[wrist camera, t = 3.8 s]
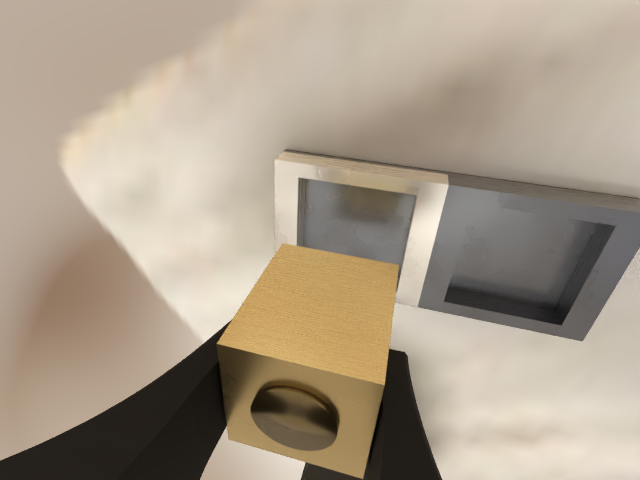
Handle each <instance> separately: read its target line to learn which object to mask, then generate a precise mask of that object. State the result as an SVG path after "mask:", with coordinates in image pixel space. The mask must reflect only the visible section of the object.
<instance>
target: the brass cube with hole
mask: <svg viewBox="0 0 640 480" xmlns="http://www.w3.org/2000/svg"><path fill="white" fill-rule="evenodd" d="M398 270H399V265H397V264H391V263H386V262H381V261H375V260H370V259H365V258H359V257H354V256H349V255H343V254H338V253H333V252H327V251H322V250H317V249H311V248H306V247H301V246H295V245H290V244H285V243H282V245H281V246H280V248H279V249H278V251H277V252H276V254H275V255H274V257H273V258H272V260H271V261H270V263H269V264H268V266H267V268H266V269H265V271H264V272H263V274H262V275H261V277H260V278H259V280H258V281H257V283H256V284H255V286H254V287H253V289H252V290H251V292H250V293H249V295H248V297H247V298H246V300H245V301H244V303H243V304H242V306H241V307H240V309H239V310H238V312H237V313H236V315H235V316H234V318H233V319H232V321H231V322H230V324H229V326H228V327H227V329H226V330H225V332H224V333H223V335H222V336H221V338H220V339H219V341H218V342H217V351H218V359H219V367H220V375H221V383H222V391H223V399H224V407H225V415H226V423H227V430H228V439H229V440H233V441H236V442H240V443H243V444H246V445H250V446H253V447H256V448H260V449H263V450H267V451H270V452H273V453H277V454H280V455H284V456H287V457H290V458H294V459H297V460H300V461H304V462H307V463H310V464H314V465H317V466H321V467H324V468H327V469H331V470H334V471H337V472H341V473H344V474H348V475H351V476H354V477H358V478H361V479H363V476H364V472H365V468H366V463H367V459H368V455H369V450H370V446H371V442H372V437H373V433H374V429H375V425H376V420H377V416H378V412H379V407H380V403H381V399H382V394H383V390H384V386H385V378H386V369H387V361H388V353H389V344H390V336H391V328H392V319H393V311H394V303H395V295H396V286H397V278H398Z"/></svg>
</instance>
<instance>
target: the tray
mask: <svg viewBox="0 0 640 480" xmlns="http://www.w3.org/2000/svg"><path fill="white" fill-rule="evenodd" d="M274 168H275V254H276V252H277V251H278V249H279V248H280V246H281V245H282V243H285V244H290V245H295V246H301V247H306V248H311V249H317V250H322V251H327V252H333V253H338V254H343V255H349V256H354V257H359V258H365V259H370V260H375V261H381V262H386V263H391V264H397V265H399V270H398V278H397V286H396V295H395V302H396V303H400V304H405V305H410V306H415V307H420V308H424V309H429V310H434V311H439V312H444V313H449V314H453V315H458V316H463V317H468V318H473V319H478V320H482V321H487V322H492V323H497V324H502V325H506V326H511V327H516V328H521V329H526V330H531V331H535V332H540V333H545V334H550V335H555V336H559V337H564V338H569V339H574V340H579V341H583V340H584V338H585V336H586V335H587V333H588V332H589V330H590V328H591V327H592V325H593V323H594V322H595V320H596V318H597V317H598V315H599V313H600V312H601V310H602V308H603V307H604V305H605V303H606V302H607V300H608V298H609V297H610V295H611V293H612V292H613V290H614V289H615V287H616V285H617V284H618V282H619V280H620V279H621V277H622V275H623V274H624V272H625V270H626V269H627V267H628V265H629V264H630V262H631V260H632V259H633V257H634V255H635V254H636V252H637V250H638V249H639V247H640V199H637V198H629V197H622V196H615V195H608V194H601V193H593V192H586V191H579V190H572V189H564V188H557V187H550V186H543V185H536V184H528V183H521V182H514V181H507V180H500V179H492V178H485V177H478V176H471V175H464V174H456V173H449V172H442V171H435V170H428V169H420V168H413V167H406V166H399V165H392V164H384V163H377V162H370V161H363V160H356V159H348V158H341V157H334V156H327V155H319V154H312V153H305V152H298V151H291V150H285V151H284V152H282V153H281V154H280V155H279V156H278V157H277V158H276V159H275V160H274Z"/></svg>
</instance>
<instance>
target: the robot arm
mask: <svg viewBox="0 0 640 480" xmlns="http://www.w3.org/2000/svg"><path fill="white" fill-rule="evenodd" d="M231 321H232V320H231ZM231 321H230V322H231ZM230 322H228V323H227V324H226V325H225V326H224V327H223V328H222V329H220V330H219V331H218V332H217V333H216V334H214V335H213V336H212V337H211V338H210V339H208V340H207V341H206V342H205V343H204V344H202V345H201V346H200V347H199V348H198V349H196V350H195V351H194V352H193V353H191V354H190V355H189V356H187V357H186V358H185V359H183V360H182V361H181V362H179V363H178V364H177V365H175V366H174V367H173V368H171V369H170V370H168V371H167V372H166V373H164V374H163V375H162V376H160V377H159V378H157V379H156V380H154V381H153V382H152V383H150V384H149V385H147V386H146V387H144V388H143V389H141V390H139V391H138V392H136V393H135V394H133V395H131V396H130V397H128V398H127V399H125V400H123V401H122V402H120V403H118V404H116V405H115V406H113V407H111V408H109V409H108V410H106V411H104V412H103V413H101V414H99V415H97V416H95V417H93V418H92V419H90V420H88V421H86V422H84V423H82V424H80V425H78V426H76V427H74V428H72V429H70V430H68V431H66V432H64V433H62V434H60V435H58V436H56V437H54V438H52V439H49V440H47V441H45V442H43V443H41V444H39V445H36V446H34V447H32V448H29V449H27V450H25V451H22V452H20V453H18V454H15V455H13V456H10V457H8V458H6V459H4V460H1V461H0V480H200V478H201V476H202V473H203V471H204V468H205V466H206V464H207V462H208V460H209V458H210V456H211V454H212V452H213V450H214V448H215V447H216V445H217V443H218V441H219V439H220V437H221V435H222V433H223V431H224V430H225V428H226V426H227V423H226V415H225V407H224V399H223V391H222V383H221V375H220V367H219V359H218V351H217V342H218V341H219V339H220V338H221V336H222V335H223V333H224V332H225V330H226V329H227V327H228V326H229V324H230ZM367 480H442V478H441V476H440V473H439V470H438V468H437V465H436V463H435V460H434V457H433V454H432V452H431V449H430V446H429V443H428V440H427V437H426V434H425V431H424V428H423V425H422V421H421V418H420V414H419V411H418V407H417V404H416V400H415V396H414V392H413V387H412V383H411V378H410V372H409V365H408V356H407V355H406V353H405V352H401V351H396V350H392V349H389V353H388V361H387V369H386V378H385V386H384V390H383V394H382V399H381V403H380V407H379V412H378V416H377V420H376V425H375V429H374V433H373V437H372V442H371V446H370V450H369V460H368V476H367Z"/></svg>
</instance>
